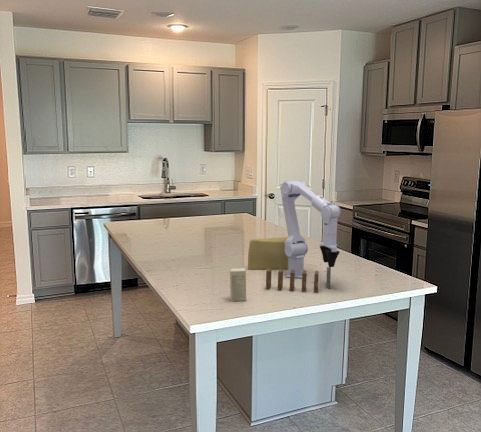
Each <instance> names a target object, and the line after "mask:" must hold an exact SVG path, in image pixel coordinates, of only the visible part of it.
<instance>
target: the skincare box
mask: <svg viewBox="0 0 481 432" xmlns="http://www.w3.org/2000/svg"><path fill="white" fill-rule="evenodd" d="M229 274H230V275H229V277H230V279H229V280H230V283H229V285H230V286H229V287H230V301H231V302H237V301H238V302H243V301H247V270H246V268H245V267H241V268H230V269H229Z"/></svg>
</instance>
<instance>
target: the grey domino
mask: <svg viewBox="0 0 481 432" xmlns="http://www.w3.org/2000/svg"><path fill="white" fill-rule="evenodd" d="M331 272H332V267H329V266H328V267H326V284H325V285H326V287H325V289H327V288H328V290H330V289H331V277H332V276H331Z"/></svg>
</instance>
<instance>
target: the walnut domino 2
mask: <svg viewBox="0 0 481 432" xmlns="http://www.w3.org/2000/svg"><path fill="white" fill-rule="evenodd" d="M283 286H284V269H278V272H277V291H280V292H282V290H283V288H284V287H283Z"/></svg>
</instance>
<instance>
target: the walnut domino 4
mask: <svg viewBox="0 0 481 432" xmlns="http://www.w3.org/2000/svg"><path fill="white" fill-rule="evenodd" d="M307 275H308V274H307V269H306V270H305V269H303V272H302V278H301V293H306V291H307Z"/></svg>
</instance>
